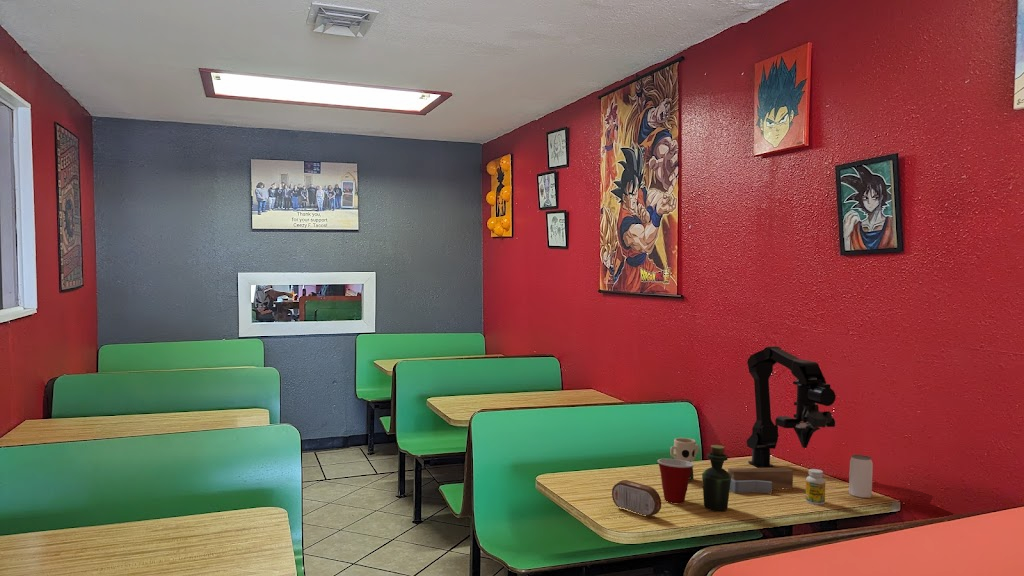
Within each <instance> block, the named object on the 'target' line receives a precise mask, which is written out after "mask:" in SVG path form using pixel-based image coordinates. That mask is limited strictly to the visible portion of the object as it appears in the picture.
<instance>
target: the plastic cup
mask: <svg viewBox="0 0 1024 576" xmlns="http://www.w3.org/2000/svg"><path fill="white" fill-rule="evenodd" d="M656 462H657V463H658V467H659V472H660V479H661V485H662V486H661V487H662V491H663V498H664V501H665V500H666V501H668V502H672V503H681V504H683V502H684V503H685V499H686V495H687V492H688V485H689V481H690V474H691V470H692V468H693V469H694V466H695V463H693V461H691V462H689V461H684V460H678V459H675V458H659V459H657V461H656ZM666 501H665V502H666ZM668 502H667V503H668ZM672 503H671V504H672Z"/></svg>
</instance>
